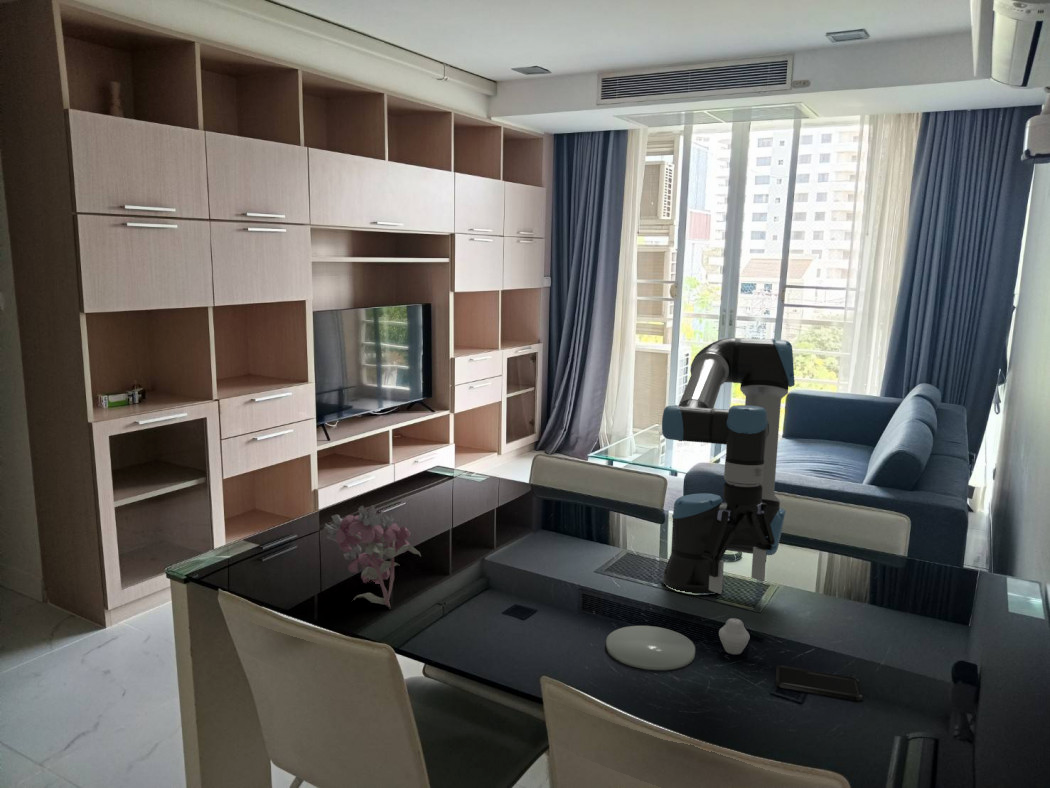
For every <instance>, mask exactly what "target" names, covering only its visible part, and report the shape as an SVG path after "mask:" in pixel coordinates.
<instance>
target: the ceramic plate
mask: <svg viewBox="0 0 1050 788" xmlns="http://www.w3.org/2000/svg"><path fill="white" fill-rule="evenodd" d="M605 647H606V651H607V652H608V654H609V655H610V656H611V657H612V658H613V659H615V660H617V661H618V662H620V663H622V664H624V665H627V666H630V667H633V668H637V669H642V670H650V671H669V670H670V671H671V670H676V669H677V670H678V669H680V668H681V669H682V668H683V667H686V666H688V665H689V664H691V663H692V662H693V661H694V659H695V657H696V646H695V644H694V642H693V641H692V640H691V639H689V638H688V637H687V636H685V635H684V634H682V633H680V632H678V631H674V630H671V629H668V628H664V627H660V626H651V625H631V626H630V625H629V626H623V627H621V628H618V629H615V630H613V631H612V632H610V633H609V634H608V635H607V637H606V643H605Z"/></svg>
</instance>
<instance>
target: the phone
mask: <svg viewBox="0 0 1050 788" xmlns="http://www.w3.org/2000/svg"><path fill="white" fill-rule="evenodd" d="M775 686H776V687H778V688H781V689H785V690H786V689H787V690H792V691H798V692H799V691H800V692H802V693H803V692H804V693H809V694H815V695H816V694H817V695H821V696H827V697H833V698H837V699H845V700H849V701H854V702H855V701H857V702H860V701H862V700H863V692H862V686H861V682H860V680H859V679H858V678H856V677H852V676H846V675H842V674H833V673H827V672H822V671H817V670H812V669H811V670H809V669H804V668H799V667H791V666H785V665H777V666H776V667H775Z"/></svg>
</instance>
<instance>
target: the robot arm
mask: <svg viewBox="0 0 1050 788" xmlns="http://www.w3.org/2000/svg"><path fill="white" fill-rule="evenodd" d="M793 355H794V354H793V345H792V343H790V341H788V340H785V339H784V340H783V339H775V338H742V337H728V338H727V337H726V338H722V339H719V340H716V341H713V342H712V343H710V344H708V345H707V346H705V347H703V348H702V349H700V350H699V351H698V353H697V354H696V355H695V356H694V358H693V359H692V362H691V364H690V376H689V380H688V382H687V385H686V387H685V389H684V392H683V394H682V396H681V398H680V401H679V404H675V405H668V406H665V408H664V409H663V412H662V413H663V414H662V419H661V433H662V436H663V437H664V439H667V440H672V441H678V442H690V443H691V442H692V443H705V444H714V445H715V444H716V445H726V451H725V452H726V453H725V459H724V469H723V470H724V473H723V479H724V481H725V482H724V483H723V492H722V493H723V494H722V495H723V497H721V496H720V495H718V494H713V493H709V492H708V493H707V492H706V493H703V492H702V493H691V494H686V495H682V496H680V497H678V498H677V499H675V501H674V504H673V510H672V511H673V513H672V517H671V518H672V531H671V551H670V556H669V558H668V561H667V562H666V563H667V564H666V566H665V569H664V571H663V573H662V582H663V581H664V583H665V584H666V585H668V586H669V587H671V588H673V589H676V590H680V591H685V592H692V593H718V594H719V595H721V594H723V591H722V589H723V590H724V588H723V587H725V586H724V585H725V584H724V583H725V580H724V566H725V564H724V563H725V561H724V560H722V559H723V557H724V555H725V553H726V551H730V552H737V553H745V554H751V555H752V561H751V562H752V563H751V565H752V566H751V579H754V580H756V581H760V582H765V577H766V563H767V556H773V555H775V554H776V553H777V551H778V549H779V545H780V540H781V536H782V533H783V532H782V531H783V526H784V521H785V516H786V509H784V508H782V507H780V503H781V501H780V500H779V498H778V497H777V496H776V494H775V484H776V473H777V471H776V470H777V469H776V468H777V459H778V458H777V457H778V445H779V431H780V419H781V406H782V405H781V403H782V399H783V398H784V397H785V396H787V394H789V388H792V387H794V386H795V382H796V381H795V371H794V370H795V369H794V368H795V367H794V365H795V364H794V356H793ZM725 383H733V384H740V387H739V388H740V392H741V393H742V394H743V395H744V396H745V402H744V403H745V404H738V405H731V407H729V409H724V408H723V409H722V408H714V407H715V405H716V402H717V398H718V396H719V392H720V389H721V386H722V385H724V384H725ZM723 501H725V502H723ZM718 594H717V595H718Z"/></svg>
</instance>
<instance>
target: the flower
mask: <svg viewBox="0 0 1050 788" xmlns="http://www.w3.org/2000/svg"><path fill="white" fill-rule="evenodd" d="M375 508H376V504H375V505H370V507H369V506H368V507H367V506H366V507H364V504H363V505H360V506H359V507H358V513H359V514H358V515H355V516H354V514H353V515H352V514H351V515H350V514H348V515H345V517H344V518H341V516H340V515H339V514H334V515H330V516H331V518H332V519H331V520H330V521H331V522H332V523H331V522H330V521H329V522H328V523H329V524H327V523H324V525H325V526H324V527H323V529H324V530H325V529H326V530H327V532H328V535H327V536H326V539H328V540H331V541H333V542H336V543H337V544H338V545H339V549H340V550H342V552H344V553H343V556H344V559H345V560H347V561H349V562H350V561H351V562H350V563H349V565H348V567H347V570H348V571H349V572H350V573H356V574H357V573H359V565H360V566H362V567H361V569H362V572H361V574H360V578H361V580H362V582H363V583H364V584H368V583H370V582H372V581H373V582H375V584H380V589H381V591H382V595H383V597H380V596H377V595H375V594H374V593H372V592H365V593H362V594H361V593H360V594H358V595H356V596H355V597H354V598H353V600H354V601H356V600H357V599H362V598H363V599H366V600H367V601H369V602H370V603H374V604H379V605H385V606H387V608H389V609H391V604H390V598H391V593H392V590H393V586H394V581H395V567H396V566H400V564H399V563H397V562H395V557H397V556H399V555H402V554H404V553H406V552H407V551H409V552H410V553H412V554H413V555H414V554H415V555H419V557H422V555H421V552H420V551H418V550H417V549H416V548H415V547H413V546H412V545H411V544H410V542H409V541H407V540H406V539H408V538H410V537H411V532H410V531H409V529H408V528H407V527H406V526H400V527H399V526H398V524H397V523H396V522H394V519H395V516H394V513H393V512H392V513H391V515H390V516H388V514H385V512H384V510H382V509H380V510H379V512H380V513H377V510H376V509H375ZM361 543H363V546H364V547H365V552H363V553H362V546H360V544H361ZM350 544H351V545H352V547H351V546H350ZM384 544H386V545H385V546H384ZM375 553H378V557H376V555H375ZM384 556H386V557H387V558H389V559H390V561H389V560H385V559H383V558H384ZM400 567H401V566H400ZM388 579H389V583H388V590H387V588H386V586H385V582H384V580H388ZM370 580H371V581H370ZM369 581H370V582H369ZM367 582H368V583H367ZM353 600H352V601H353Z"/></svg>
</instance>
